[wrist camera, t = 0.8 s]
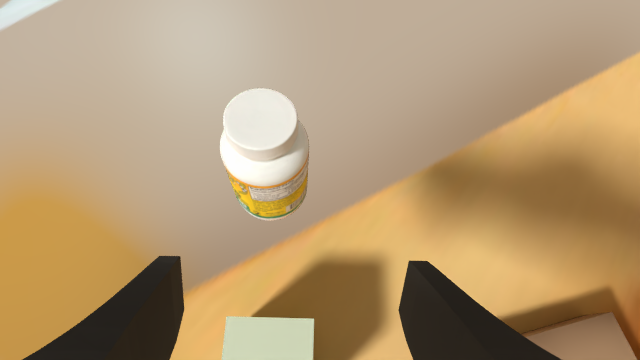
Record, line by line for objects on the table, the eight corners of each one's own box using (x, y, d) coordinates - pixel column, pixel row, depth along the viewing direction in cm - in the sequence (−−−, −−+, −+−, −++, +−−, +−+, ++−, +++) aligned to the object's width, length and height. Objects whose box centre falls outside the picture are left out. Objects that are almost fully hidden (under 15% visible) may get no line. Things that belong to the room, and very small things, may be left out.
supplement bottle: (310, 218, 28) (315, 158, 20) (236, 225, 28) (209, 166, 19) (303, 154, 30) (305, 75, 22) (235, 159, 30) (209, 80, 21)
